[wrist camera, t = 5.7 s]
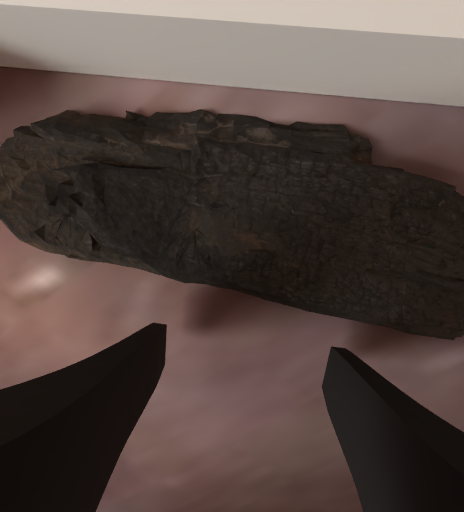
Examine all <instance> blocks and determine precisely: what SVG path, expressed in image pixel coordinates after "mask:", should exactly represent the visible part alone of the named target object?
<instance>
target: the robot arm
mask: <svg viewBox="0 0 464 512" xmlns="http://www.w3.org/2000/svg"><path fill="white" fill-rule="evenodd" d="M166 328H167V325H166V324H158V323H152V324H150V325H148V326H146V327H144V328H143V329H141V330H139V331H137V332H136V333H134V334H132V335H130V336H129V337H127V338H125V339H123V340H122V341H120V342H118V343H116V344H114V345H112V346H110V347H108V348H106V349H104V350H102V351H101V352H99V353H97V354H95V355H93V356H91V357H88V358H86V359H84V360H82V361H80V362H77V363H75V364H73V365H70V366H68V367H65V368H63V369H60V370H58V371H55V372H52V373H49V374H47V375H44V376H41V377H38V378H35V379H32V380H29V381H27V382H24V383H21V384H17V385H14V386H11V387H7V388H4V389H1V390H0V512H96V509H97V507H98V505H99V502H100V500H101V498H102V495H103V493H104V490H105V488H106V486H107V483H108V481H109V479H110V477H111V474H112V472H113V470H114V467H115V465H116V463H117V461H118V458H119V456H120V454H121V452H122V450H123V448H124V446H125V444H126V442H127V440H128V438H129V436H130V434H131V432H132V431H133V429H134V427H135V425H136V423H137V421H138V420H139V418H140V416H141V414H142V412H143V410H144V409H145V407H146V405H147V403H148V401H149V399H150V397H151V396H152V394H153V392H154V390H155V388H156V386H157V383H158V381H159V379H160V376H161V373H162V371H163V368H164V366H165V351H166ZM322 389H323V394H324V398H325V402H326V406H327V410H328V413H329V416H330V419H331V421H332V424H333V427H334V429H335V432H336V435H337V437H338V440H339V442H340V445H341V448H342V450H343V453H344V455H345V458H346V461H347V463H348V466H349V469H350V471H351V474H352V477H353V479H354V482H355V485H356V488H357V491H358V494H359V498H360V501H361V505H362V508H363V512H464V432H462V431H460V430H459V429H457V428H456V427H454V426H452V425H451V424H449V423H448V422H446V421H445V420H443V419H442V418H440V417H438V416H437V415H435V414H434V413H432V412H431V411H429V410H428V409H426V408H425V407H423V406H422V405H420V404H419V403H418V402H416V401H415V400H413V399H412V398H411V397H409V396H408V395H406V394H405V393H404V392H402V391H401V390H400V389H398V388H397V387H396V386H394V385H393V384H392V383H390V382H389V381H388V380H386V379H385V378H384V377H382V376H381V375H380V374H379V373H377V372H376V371H375V370H374V369H372V368H371V367H370V366H368V365H367V364H366V363H365V362H363V361H362V360H361V359H360V358H358V357H357V356H356V355H354V354H353V353H352V352H350V351H349V350H347V349H346V348H338V347H331V349H330V354H329V358H328V362H327V367H326V371H325V376H324V380H323V384H322Z"/></svg>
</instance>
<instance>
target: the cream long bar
mask: <svg viewBox="0 0 464 512" xmlns="http://www.w3.org/2000/svg"><path fill="white" fill-rule="evenodd" d="M0 66H3V67H14V68H26V69H37V70H48V71H60V72H71V73H83V74H94V75H106V76H117V77H129V78H140V79H152V80H163V81H175V82H186V83H198V84H209V85H221V86H232V87H244V88H255V89H266V90H278V91H289V92H301V93H312V94H324V95H335V96H347V97H358V98H370V99H381V100H393V101H404V102H416V103H427V104H439V105H450V106H461V107H464V0H0Z"/></svg>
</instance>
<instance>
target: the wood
mask: <svg viewBox="0 0 464 512" xmlns="http://www.w3.org/2000/svg"><path fill="white" fill-rule="evenodd" d="M126 113H127V115H126V119H125V118H119V117H113V116H105V115H96V114H86V115H81V114H79V113H77V112H75V111H69V110H67V111H65V112H62V113H60V114H58V115H56V116H52V117H49V118H46V119H44V120H41V121H38V122H34V123H31V125H30V126H21V127H19V128H16V129H14V130H13V131H14V136H15V137H11V138H8V139H6V141H5V142H4V143H3V144H2V145H1V147H0V219H1V220H2V221H3V223H4V224H5V225H6V227H7V228H8V229H9V230H10V231H11V232H12V233H13V234H14V235H15V236H16V237H17V238H18V239H19V240H21V241H23V242H25V243H27V244H29V245H32V246H34V247H36V248H38V249H41V250H44V251H47V252H49V253H55V254H62V255H65V256H67V257H68V258H74V259H79V260H86V261H95V262H106V263H111V264H116V265H121V266H127V267H133V268H138V269H142V270H145V271H148V272H151V273H154V274H158V275H163V276H165V277H168V278H171V279H174V280H177V281H180V282H183V283H198V284H209V285H212V286H216V287H221V288H227V289H232V290H236V291H240V292H243V293H246V294H249V295H253V296H256V297H259V298H262V299H264V300H268V301H272V302H277V303H281V304H284V305H288V306H291V307H295V308H299V309H302V310H305V311H309V312H315V313H319V314H324V315H330V316H335V317H340V318H345V319H350V320H356V321H361V322H365V323H369V324H375V325H382V326H386V327H390V328H393V329H396V330H400V331H404V332H407V333H410V334H416V335H423V336H430V337H437V338H442V339H450V340H454V339H455V338H456V337H462V336H463V335H464V197H463V196H462V195H460V194H459V193H457V192H456V191H455V189H456V187H455V186H452V185H449V184H446V183H443V182H441V181H437V180H434V179H430V178H427V177H423V176H420V175H415V174H411V173H407V172H404V170H403V169H399V168H391V167H384V166H377V165H371V153H372V145H371V143H370V141H369V139H367V138H364V137H362V136H359V135H356V134H353V133H350V132H349V131H348V130H347V129H346V127H345V126H344V125H312V124H307V123H302V122H295V123H293V124H291V125H289V126H287V125H280V124H275V123H272V122H269V121H266V120H263V119H260V118H258V117H253V116H243V115H231V114H218V115H216V114H213V113H210V112H207V111H204V110H197V111H194V112H191V113H176V114H174V113H160V112H156V113H155V114H153V115H152V116H150V117H149V118H147V117H145V116H143V115H139V114H136V113H133V112H129V111H126Z"/></svg>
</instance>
